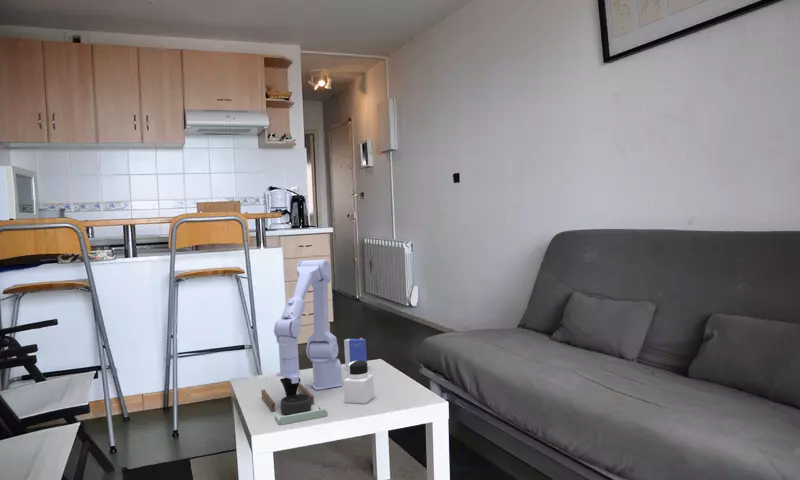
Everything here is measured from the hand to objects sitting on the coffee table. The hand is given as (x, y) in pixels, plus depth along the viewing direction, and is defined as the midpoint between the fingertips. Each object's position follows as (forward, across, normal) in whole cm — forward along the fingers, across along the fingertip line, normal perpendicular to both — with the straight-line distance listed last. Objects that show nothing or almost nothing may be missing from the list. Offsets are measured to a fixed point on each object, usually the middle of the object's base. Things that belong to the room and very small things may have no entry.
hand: (291, 401), depth 173 cm
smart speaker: (+2, +6, 0) cm, 6 cm away
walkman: (+2, -31, +32) cm, 45 cm away
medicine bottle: (+2, +6, +20) cm, 21 cm away
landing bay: (+1, +12, 0) cm, 12 cm away
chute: (+1, -6, 0) cm, 7 cm away
